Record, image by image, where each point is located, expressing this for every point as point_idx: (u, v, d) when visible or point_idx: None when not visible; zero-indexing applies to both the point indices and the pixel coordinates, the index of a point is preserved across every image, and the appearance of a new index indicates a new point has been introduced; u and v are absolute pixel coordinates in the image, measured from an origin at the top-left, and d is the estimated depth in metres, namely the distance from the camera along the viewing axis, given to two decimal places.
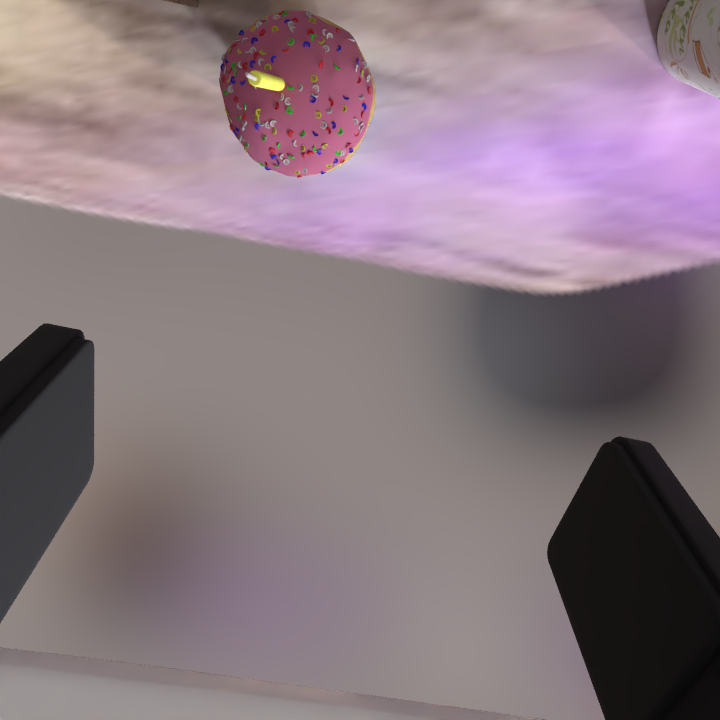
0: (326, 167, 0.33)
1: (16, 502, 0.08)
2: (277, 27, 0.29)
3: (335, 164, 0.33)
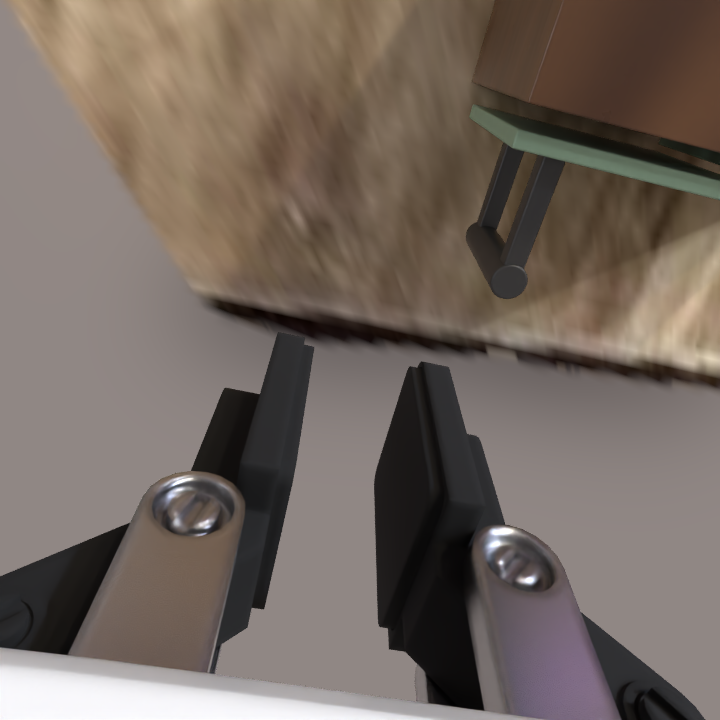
0: None
1: None
2: None
3: None
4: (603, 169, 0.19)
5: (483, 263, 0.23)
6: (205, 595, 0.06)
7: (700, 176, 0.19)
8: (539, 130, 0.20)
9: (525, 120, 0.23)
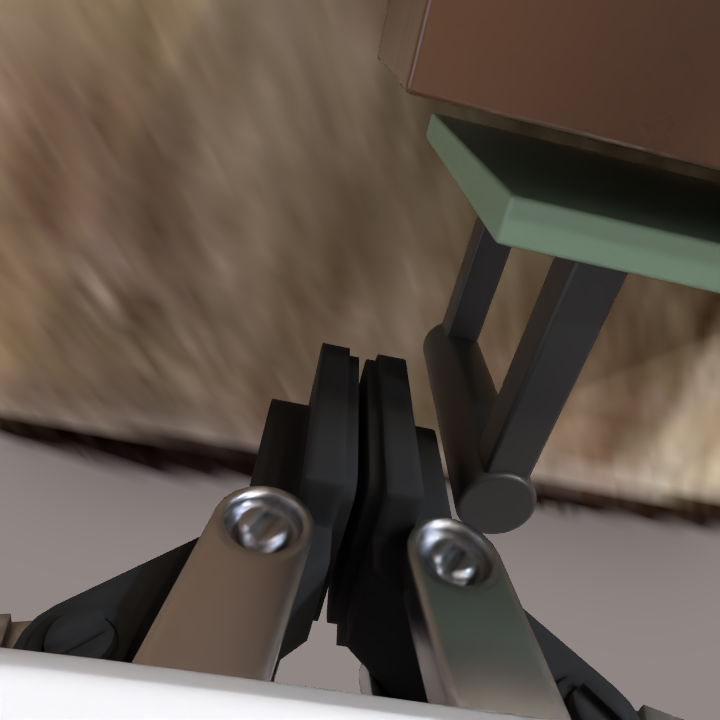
0: None
1: None
2: None
3: None
4: None
5: (445, 440, 0.11)
6: (268, 615, 0.06)
7: None
8: (565, 183, 0.08)
9: (529, 146, 0.12)
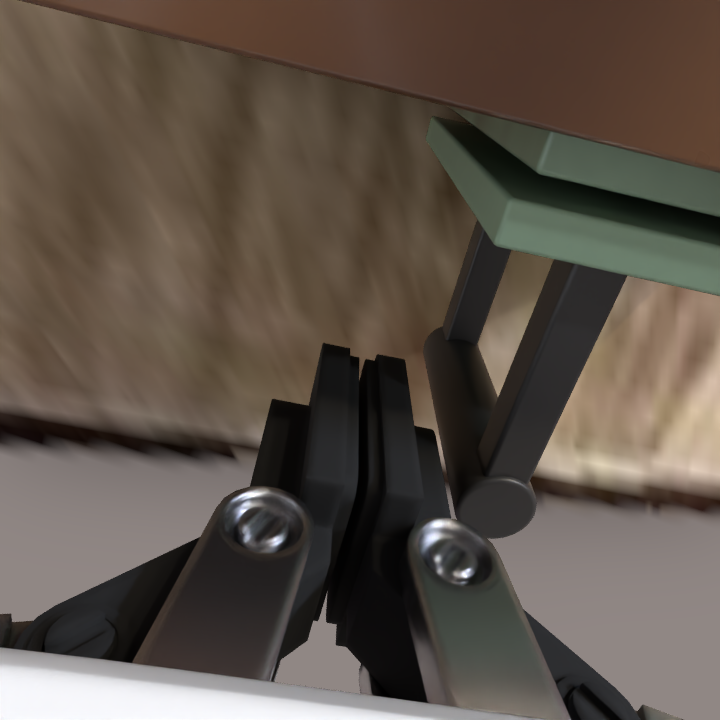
0: None
1: None
2: None
3: None
4: None
5: (445, 444, 0.11)
6: (268, 615, 0.06)
7: None
8: (564, 185, 0.08)
9: None
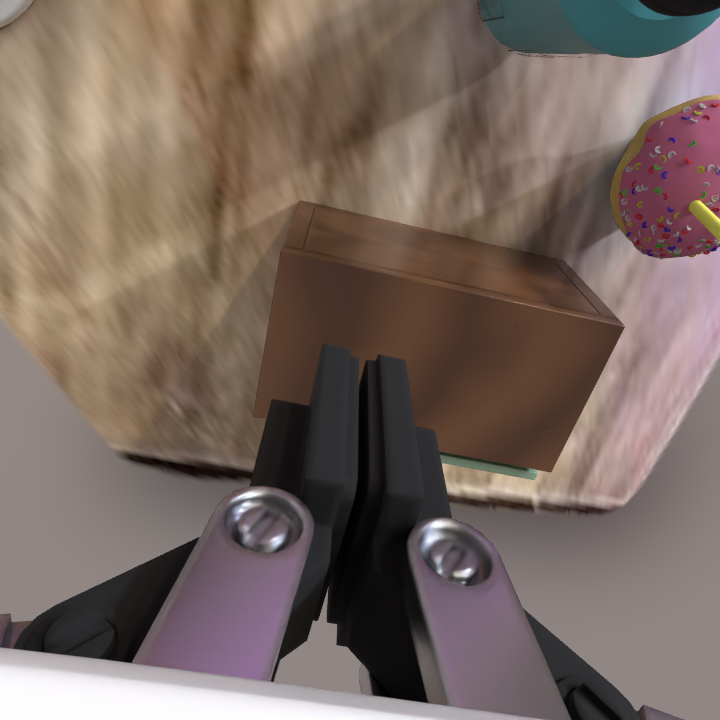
0: None
1: None
2: (638, 201, 0.30)
3: None
4: (445, 463, 0.35)
5: None
6: (268, 615, 0.06)
7: (498, 466, 0.35)
8: None
9: None
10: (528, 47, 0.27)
